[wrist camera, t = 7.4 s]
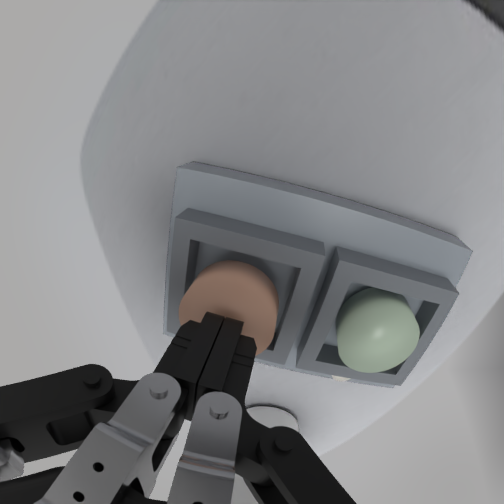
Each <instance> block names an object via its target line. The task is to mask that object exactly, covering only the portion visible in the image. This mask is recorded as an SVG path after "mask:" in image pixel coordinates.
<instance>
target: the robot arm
mask: <svg viewBox="0 0 504 504" xmlns="http://www.w3.org/2000/svg"><path fill="white" fill-rule="evenodd" d="M243 325H244V322H243V321H239V320H236V319H232V318H229V317H226V318H225V316H221V315H218V314H214V313H211V312H208V311H207V312H206V313H205V315H204V317H203V319H202V321H201V323H199V322H196V321H193V320H189V321H188V322H186V323H185V324H183V325H182V326H180V328H179V330H178V331H177V333H176V335H175V337H174V338H173V340H172V342H171V344H170V345H169V347H168V348H167V350H166V352H165V353H164V355H163V357H162V359H161V360H160V362H159V364H158V365H157V367H156V369H155V370H154V372H153V373H151V374H147V375H145V376H144V377H142V378H141V379H140V380H137V381H128V380H120V379H113V378H112V375H111V373H110V372H109V371H108V370H107V369H106V368H105V367H103V366H100V365H96V364H88V365H84V366H80V367H77V368H73V369H69V370H66V371H62V372H58V373H55V374H51V375H47V376H43V377H39V378H35V379H31V380H27V381H23V382H19V383H14V384H10V385H6V386H2V387H0V504H231V499H232V492H233V486H234V479H235V473H236V474H237V475H239V476H241V477H243V480H244V482H245V483H246V485H247V487H248V488H249V490H250V491H251V493H252V495H253V496H254V498H255V499H256V501H257V502H258V504H356V503H355V501H354V500H353V499H352V498H351V497H350V496H349V494H348V493H347V492H346V491H345V490H344V488H343V487H342V486H341V485H340V484H339V483H338V481H337V480H336V479H335V477H334V476H333V475H332V474H331V473H330V472H329V470H328V469H327V467H326V466H325V465H324V464H323V463H322V461H321V460H320V459H319V457H318V456H317V455H316V454H315V452H314V451H313V450H312V448H311V447H310V446H309V444H308V443H307V442H306V441H305V439H304V438H303V437H302V435H301V434H300V433H299V432H297V431H296V430H294V429H292V428H290V427H286V426H275V427H272V428H268V427H266V426H264V425H263V424H261V423H259V422H257V421H256V420H254V419H253V418H252V417H251V416H250V415H249V414H248V412H247V410H246V408H245V396H246V392H247V388H248V384H249V380H250V376H251V372H252V367H253V364H254V359H255V355H256V351H257V346H256V343H255V340H254V338H252V337H248V336H245V335H241V333H242V329H243ZM192 418H193V419H192ZM184 419H186V420H189V421H192V422H191V426H190V429H189V433H188V436H187V440H186V444H185V448H184V451H183V454H182V456H181V458H180V460H179V462H178V465H177V469H176V472H175V476H174V480H173V483H172V487H171V490H170V494H169V497H168V501H167V502H166V501H159V500H152V499H149V496H150V494H151V492H152V490H153V488H154V486H155V482H156V478H157V475H158V473H159V471H160V469H161V468H162V466H163V464H164V462H165V460H166V458H167V456H168V454H169V452H170V451H171V449H172V447H173V445H174V443H175V441H176V439H177V437H178V435H179V431H180V429H181V427H182V424H183V422H184ZM75 449H78V450H77V451H76V452H75V454H74V455H73V457H72V458H71V459H70V461H69V462H68V463H67V465H66V466H62V467H56V468H52V469H49V470H45V471H42V472H38V473H35V474H31V475H28V476H24V477H20V478H16V479H13V478H15V477H17V476H21V475H22V474H23V471H24V470H23V468H24V463H26V462H31V461H34V460H39V459H43V458H47V457H51V456H54V455H58V454H61V453H64V452H68V451H72V450H75ZM11 479H12V480H11Z"/></svg>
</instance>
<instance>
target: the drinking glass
mask: <svg viewBox="0 0 504 504" xmlns="http://www.w3.org/2000/svg"><path fill="white" fill-rule="evenodd" d="M246 410H247V412H248V414H249V415H250V416H251V417H252V418H253V419H254V420H256V421H257V422H259V423H261V424H263V425H264V426H266V427H268V428H272V427H275V426H286V427H290V428H292V429H294V430H296V431H297V432H298V431H299V427H298V423H297V420H296V419H295V418H294V417H293V416H292V415H291V414H290V413H288V412H286V411H284V410H282V409H279V408H275V407H268V406H257V407H251V408H248V409H246ZM231 504H258V502H257V501H256V499H255V498H254V496H253V495H252V493H251V491H250V490H249V488H248V487H247V485H246V483H245V482H244V480H243V477H241V476H239V475H237V474H236V473H235V479H234V486H233V492H232V499H231Z"/></svg>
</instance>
